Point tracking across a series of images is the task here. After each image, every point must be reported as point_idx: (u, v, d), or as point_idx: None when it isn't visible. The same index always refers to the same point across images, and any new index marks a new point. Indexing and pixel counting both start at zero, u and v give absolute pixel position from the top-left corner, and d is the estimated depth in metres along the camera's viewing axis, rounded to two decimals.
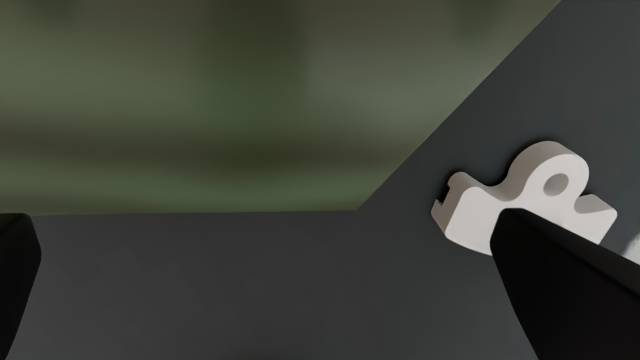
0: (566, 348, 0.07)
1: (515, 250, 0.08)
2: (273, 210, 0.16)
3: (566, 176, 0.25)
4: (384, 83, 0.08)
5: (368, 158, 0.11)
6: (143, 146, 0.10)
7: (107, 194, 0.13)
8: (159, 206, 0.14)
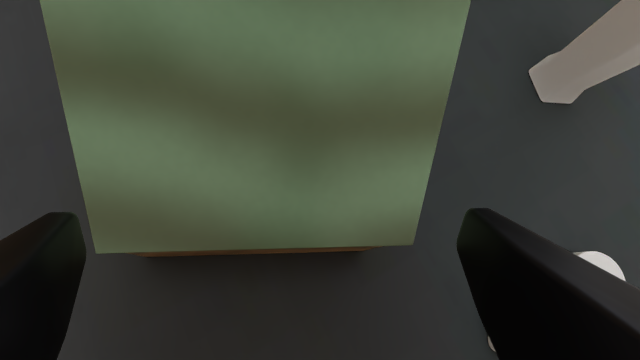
0: (525, 351, 0.07)
1: (479, 251, 0.08)
2: (339, 243, 0.18)
3: None
4: (413, 14, 0.13)
5: (413, 123, 0.15)
6: (260, 102, 0.14)
7: (209, 198, 0.16)
8: (244, 229, 0.17)
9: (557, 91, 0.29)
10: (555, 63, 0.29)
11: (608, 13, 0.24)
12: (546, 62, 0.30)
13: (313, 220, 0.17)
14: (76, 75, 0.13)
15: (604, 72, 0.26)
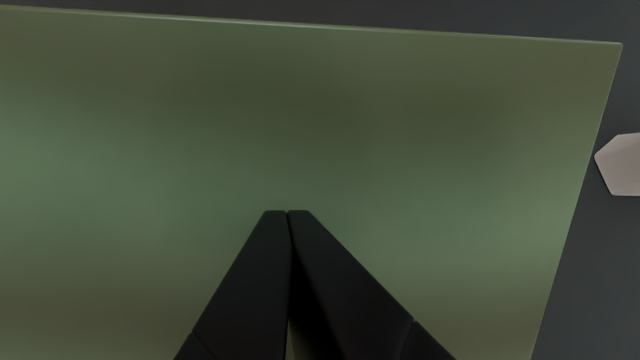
0: None
1: None
2: None
3: None
4: (501, 199, 0.09)
5: (497, 337, 0.10)
6: None
7: None
8: None
9: (634, 185, 0.24)
10: (634, 154, 0.23)
11: None
12: (619, 149, 0.24)
13: None
14: None
15: None
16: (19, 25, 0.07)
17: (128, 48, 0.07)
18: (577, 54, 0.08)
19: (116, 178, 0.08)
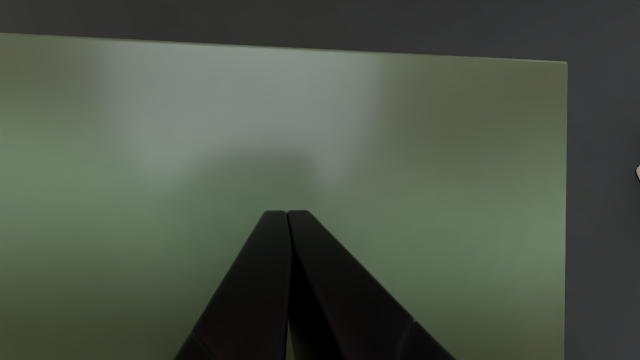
0: None
1: None
2: None
3: None
4: (491, 205, 0.09)
5: None
6: None
7: None
8: None
9: None
10: None
11: None
12: None
13: None
14: None
15: None
16: (57, 50, 0.08)
17: (145, 67, 0.08)
18: (529, 70, 0.09)
19: (123, 185, 0.08)
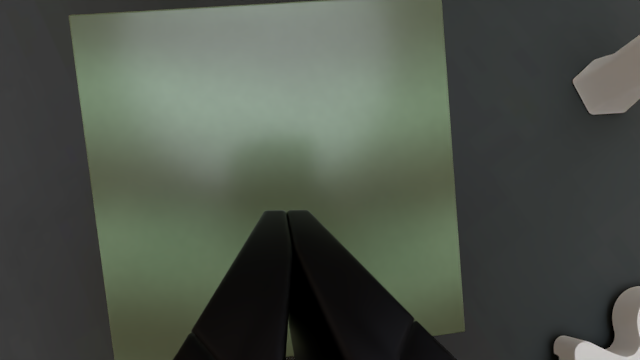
0: None
1: None
2: None
3: None
4: (398, 87, 0.15)
5: (426, 188, 0.16)
6: (274, 185, 0.15)
7: None
8: None
9: (608, 103, 0.26)
10: (605, 74, 0.25)
11: None
12: (593, 71, 0.26)
13: None
14: (108, 182, 0.14)
15: None
16: (137, 19, 0.14)
17: (186, 24, 0.14)
18: (416, 1, 0.15)
19: (181, 92, 0.14)
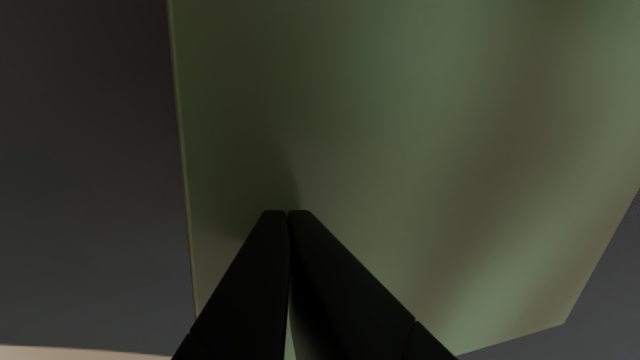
0: None
1: None
2: None
3: None
4: None
5: None
6: (466, 206, 0.10)
7: (557, 241, 0.12)
8: (611, 198, 0.12)
9: None
10: None
11: None
12: None
13: None
14: None
15: None
16: None
17: None
18: None
19: None
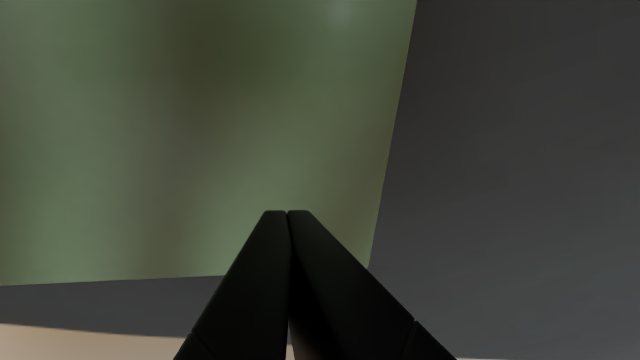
0: None
1: None
2: None
3: None
4: None
5: None
6: (172, 106, 0.11)
7: (308, 165, 0.13)
8: (360, 127, 0.12)
9: None
10: None
11: None
12: None
13: (360, 31, 0.11)
14: (166, 265, 0.14)
15: None
16: None
17: None
18: None
19: (53, 197, 0.12)
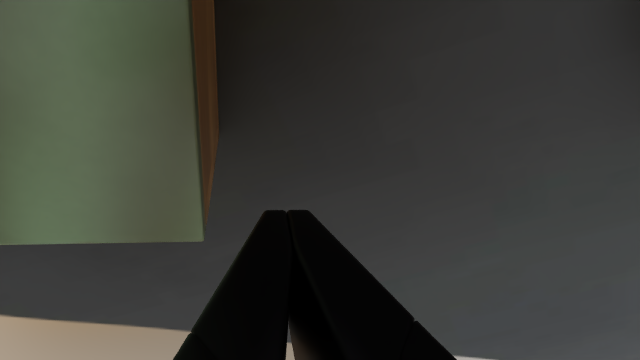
0: None
1: None
2: None
3: None
4: None
5: None
6: None
7: (103, 121, 0.12)
8: (152, 79, 0.11)
9: None
10: None
11: None
12: None
13: None
14: None
15: None
16: None
17: None
18: None
19: None
